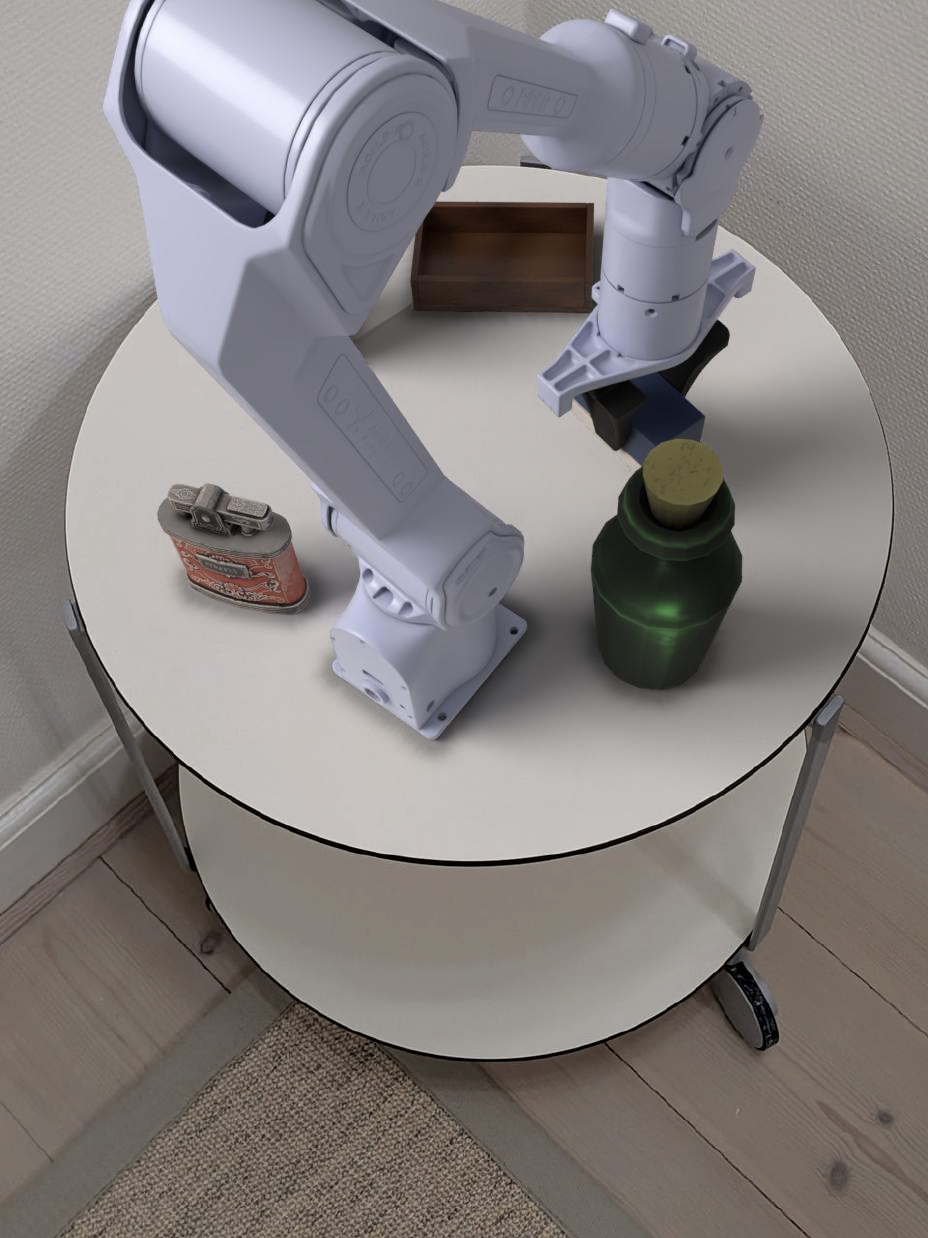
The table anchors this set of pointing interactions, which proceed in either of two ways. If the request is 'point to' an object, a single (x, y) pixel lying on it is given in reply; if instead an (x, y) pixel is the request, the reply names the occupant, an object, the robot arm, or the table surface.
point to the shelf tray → (504, 257)
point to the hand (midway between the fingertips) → (636, 420)
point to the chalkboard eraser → (651, 420)
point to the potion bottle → (666, 567)
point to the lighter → (234, 549)
